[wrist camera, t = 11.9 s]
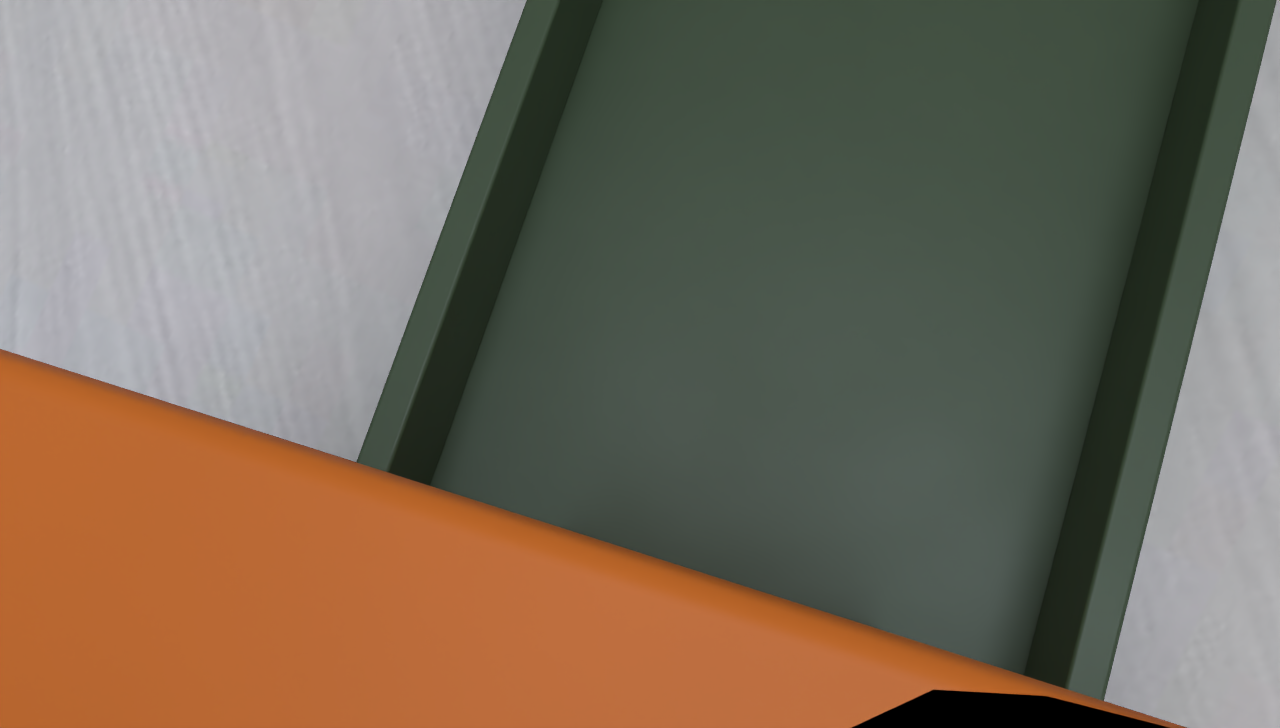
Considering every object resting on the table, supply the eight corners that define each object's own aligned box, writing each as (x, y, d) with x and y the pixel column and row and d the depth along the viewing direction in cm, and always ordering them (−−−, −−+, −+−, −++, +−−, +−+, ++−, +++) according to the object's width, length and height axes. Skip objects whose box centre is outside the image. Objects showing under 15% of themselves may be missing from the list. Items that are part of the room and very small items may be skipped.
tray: (943, 1109, 18) (980, 1206, 15) (274, 847, 20) (196, 890, 17) (1361, -530, 23) (1446, -684, 21) (803, -622, 25) (811, -774, 22)
